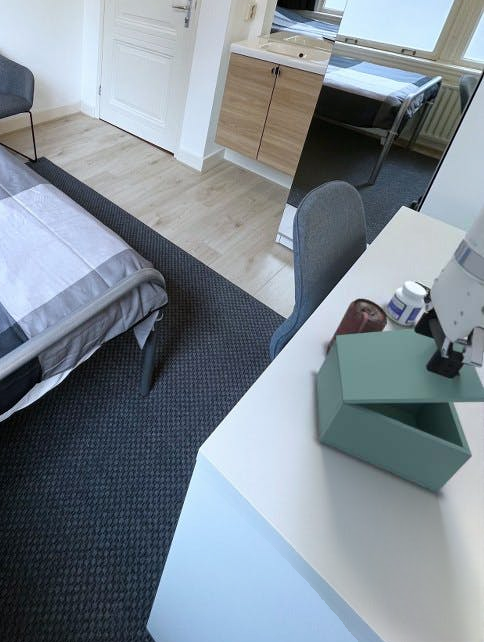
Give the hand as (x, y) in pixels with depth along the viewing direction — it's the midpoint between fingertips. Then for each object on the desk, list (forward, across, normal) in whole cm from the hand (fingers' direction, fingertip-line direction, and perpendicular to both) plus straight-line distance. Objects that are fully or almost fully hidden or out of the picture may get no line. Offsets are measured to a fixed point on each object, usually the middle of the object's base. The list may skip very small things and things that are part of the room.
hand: (432, 352), depth 62 cm
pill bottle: (+21, +31, -9) cm, 39 cm away
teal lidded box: (+21, 0, +1) cm, 21 cm away
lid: (+5, 0, +2) cm, 5 cm away
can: (+21, +13, +4) cm, 25 cm away
